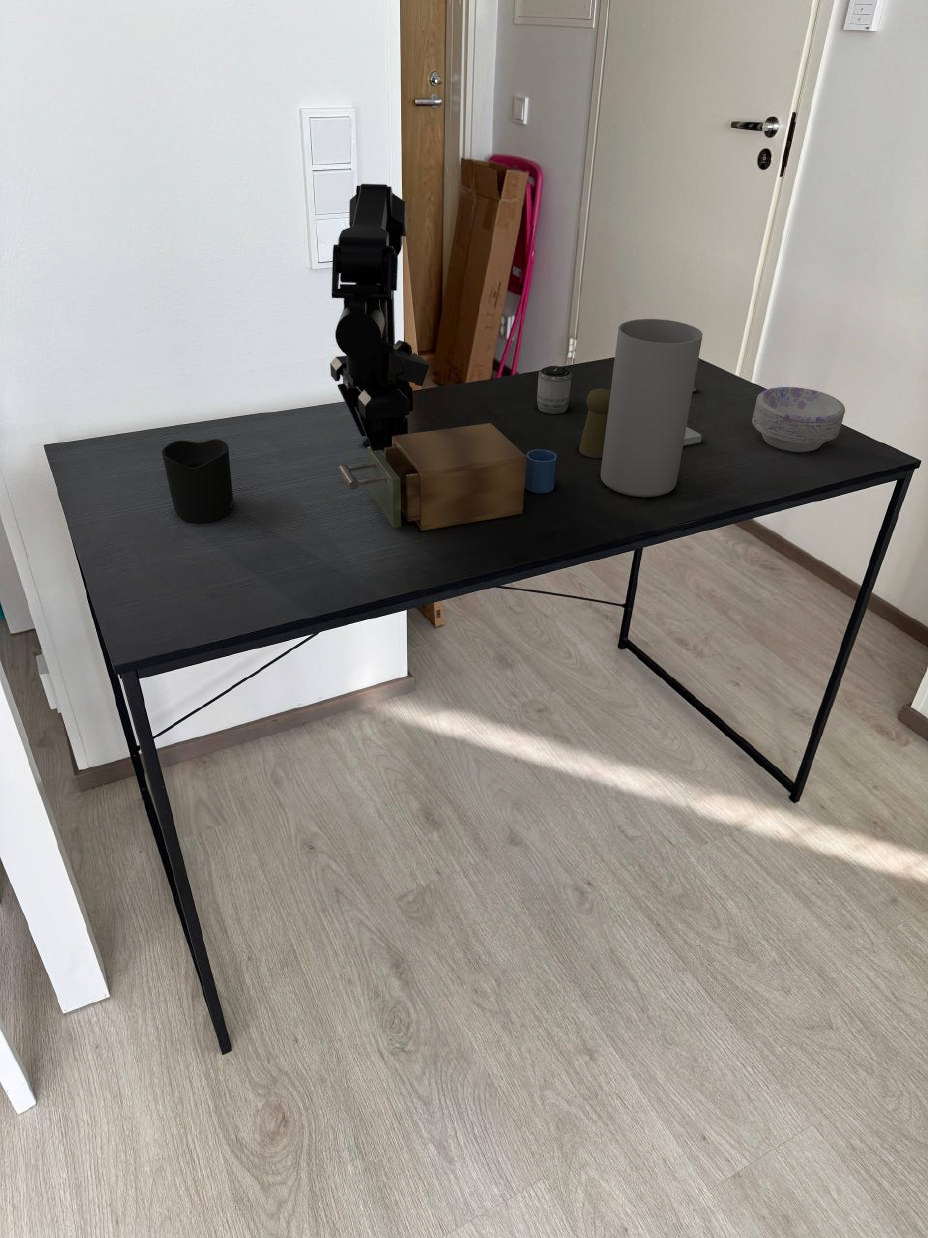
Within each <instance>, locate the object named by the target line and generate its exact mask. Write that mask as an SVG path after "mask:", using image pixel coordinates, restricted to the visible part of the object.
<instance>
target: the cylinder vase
mask: <svg viewBox="0 0 928 1238" xmlns="http://www.w3.org/2000/svg"><path fill="white" fill-rule="evenodd" d="M702 341H703V332H702V331H701V330H700V329H699V328H697V327H696V326H693V325H691V324H688V323H684V322H680V321H675V320H670V319H661V318H660V319H659V318H641V319H638V318H637V319H632V320H628V321H624V322H622V323H620V324H619V326H618V329H617V335H616V344H615V352H614V361H613V368H612V378H611V386H610V390H611V393H610V401H609V409H608V417H607V426H606V434H605V442H604V450H603V458H601V459H602V460H601V466H600V467H601V468H600V479H601V481H602V483H603V484H604V485H605V486H606V487H607V488H609V489H610V490H611V491H614V492H616V493H619V494H621V495H625V496H629V497H636V498H655V497H660V496H664V495H666V494H668V493H670V492H672V491H673V490H674V489H675V487H676V485H677V482H678V479H679V478H678V476H679V471H680V466H681V461H682V454H683V449H684V446H683V444H684V438H685V432H686V427H688V422H689V421H688V419H689V415H690V409H691V403H692V399H693V393H694V392H693V387H695V381H696V375H697V369H698V363H699V357H700V352H701V347H702Z"/></svg>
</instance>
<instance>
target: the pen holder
mask: <svg viewBox="0 0 928 1238" xmlns="http://www.w3.org/2000/svg"><path fill="white" fill-rule="evenodd" d="M161 455H162V460H163V465H164V469H165V473H166V478H167V483H168V487H169V492H170V496H171V497H170V498H171V501H172V504H173V509H174V512H175V515H176V516H177V517H178V518H180V519H181V520H183V521H185V522H188V523H196V524H201V523H202V524H205V523H211V522H216V521H219V520H221V519H224V518H226V517H227V516H229V514H231V512H232V511H233V509H234V496H233V495H234V494H233V482H232V471H231V463H230V462H231V460H230V450H229V445H228V444H227V442H226V441H223V440H221V439H218V438H214V439H209V440H206V441H200V442H195V441H189V440H176V441H172V442H170V443H168V444H167V445H165V446H164V447H163V448H162V450H161Z"/></svg>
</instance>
